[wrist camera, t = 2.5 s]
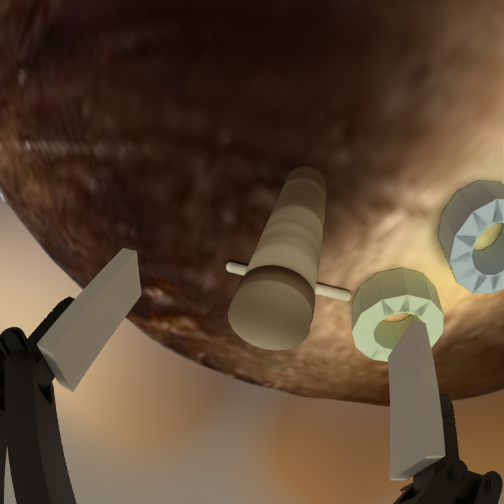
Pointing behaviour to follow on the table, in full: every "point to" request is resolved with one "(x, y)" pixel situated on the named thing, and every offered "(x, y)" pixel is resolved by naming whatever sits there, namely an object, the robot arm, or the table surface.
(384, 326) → the bead
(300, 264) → the wooden dowel
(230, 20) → the table surface
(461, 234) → the blue bead
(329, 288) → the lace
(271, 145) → the table surface
